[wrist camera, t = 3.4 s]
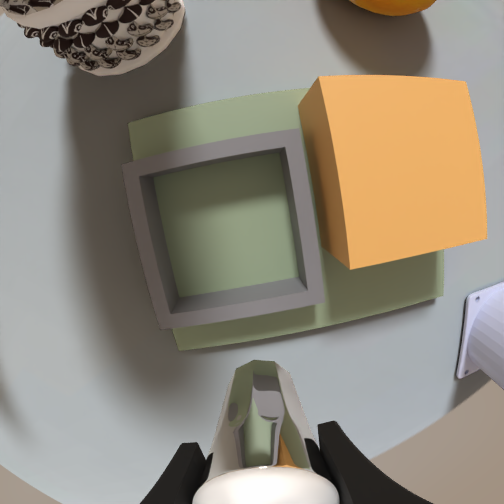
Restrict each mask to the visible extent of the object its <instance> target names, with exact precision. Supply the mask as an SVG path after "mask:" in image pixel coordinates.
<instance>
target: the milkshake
mask: <svg viewBox="0 0 504 504" xmlns="http://www.w3.org/2000/svg"><path fill="white" fill-rule="evenodd" d="M192 504H339V494H338V491H337V489H336V487H335V485H334V482H333V480H332V478H331V475H330V473H329V471H328V468H327V466H326V464H325V461H324V459H323V457H322V455H321V452H320V450H319V448H318V445H317V443H316V441H315V438H314V436H313V434H312V431H311V429H310V426H309V424H308V421H307V418H306V415H305V413H304V410H303V407H302V405H301V402H300V399H299V397H298V394H297V391H296V388H295V386H294V383H293V380H292V378H291V375H290V373H289V372H288V371H287V370H285V369H284V368H283V367H281V366H280V365H279V364H277V363H276V362H275V361H261V360H253V361H251V362H249V363H247V364H245V365H243V366H241V367H239V368H237V369H236V370H235V372H234V374H233V376H232V378H231V380H230V382H229V384H228V387H227V391H226V395H225V398H224V402H223V406H222V409H221V413H220V416H219V420H218V424H217V427H216V431H215V434H214V438H213V442H212V445H211V448H210V451H209V453H208V456H207V459H206V462H205V465H204V468H203V471H202V474H201V477H200V480H199V483H198V486H197V489H196V492H195V495H194V498H193V503H192Z"/></svg>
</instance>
